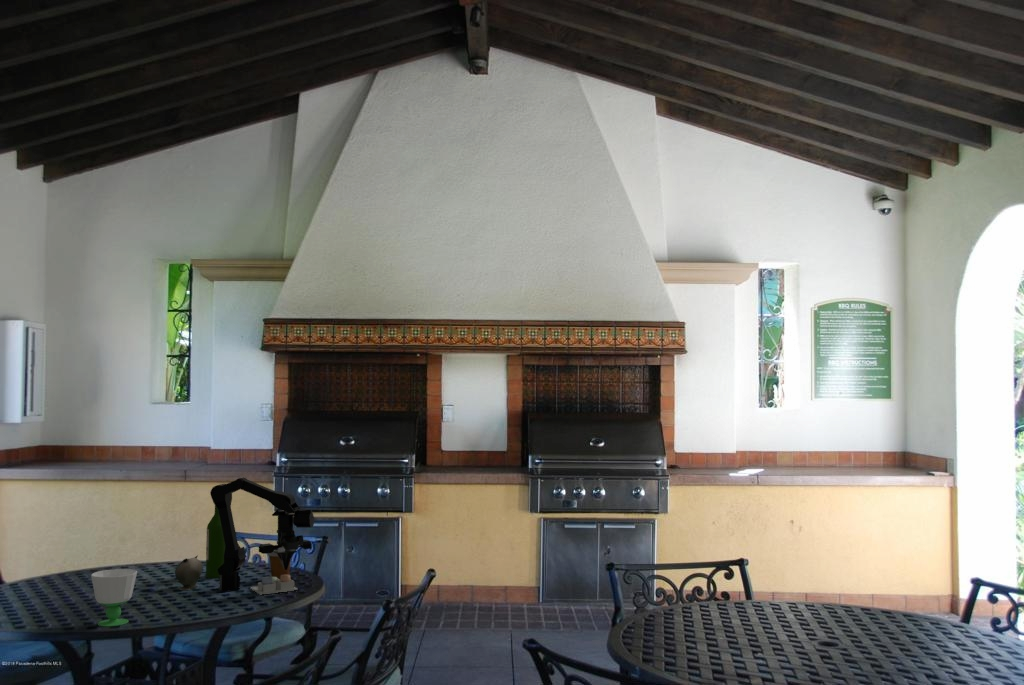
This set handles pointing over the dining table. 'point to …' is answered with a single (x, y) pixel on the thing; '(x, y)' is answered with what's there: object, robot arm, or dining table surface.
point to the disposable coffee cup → (277, 566)
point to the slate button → (266, 580)
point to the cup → (113, 592)
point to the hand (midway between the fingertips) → (285, 569)
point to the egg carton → (274, 587)
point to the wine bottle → (214, 546)
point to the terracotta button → (285, 578)
